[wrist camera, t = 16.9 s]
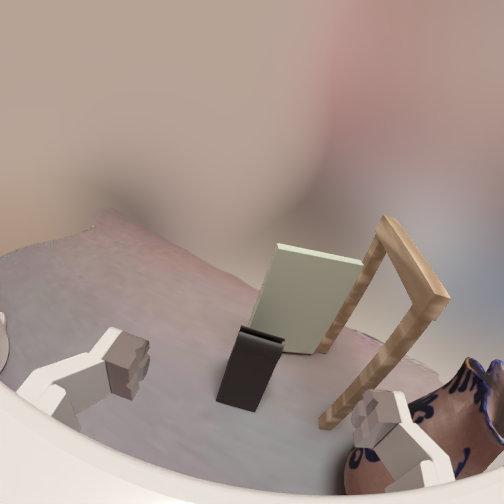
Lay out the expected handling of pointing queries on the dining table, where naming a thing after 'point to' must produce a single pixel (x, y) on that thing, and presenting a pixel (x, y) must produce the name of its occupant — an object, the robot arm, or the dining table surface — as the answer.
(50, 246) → the dining table surface
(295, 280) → the door
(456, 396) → the ceramic pitcher
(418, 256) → the door frame
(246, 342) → the phone stand
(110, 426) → the dining table surface
